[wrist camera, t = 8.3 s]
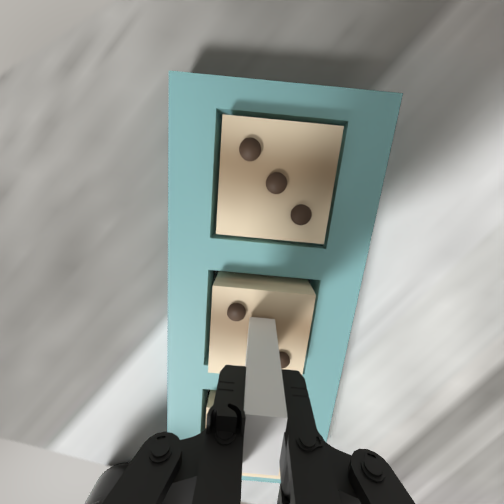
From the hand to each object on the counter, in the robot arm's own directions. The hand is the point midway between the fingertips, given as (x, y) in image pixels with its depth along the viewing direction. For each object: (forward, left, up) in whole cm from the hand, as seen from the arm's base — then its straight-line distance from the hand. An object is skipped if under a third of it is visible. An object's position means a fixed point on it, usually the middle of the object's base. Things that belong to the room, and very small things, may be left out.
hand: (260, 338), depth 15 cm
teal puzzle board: (0, 0, -4) cm, 4 cm away
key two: (0, 0, -3) cm, 3 cm away
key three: (0, +9, -3) cm, 9 cm away
